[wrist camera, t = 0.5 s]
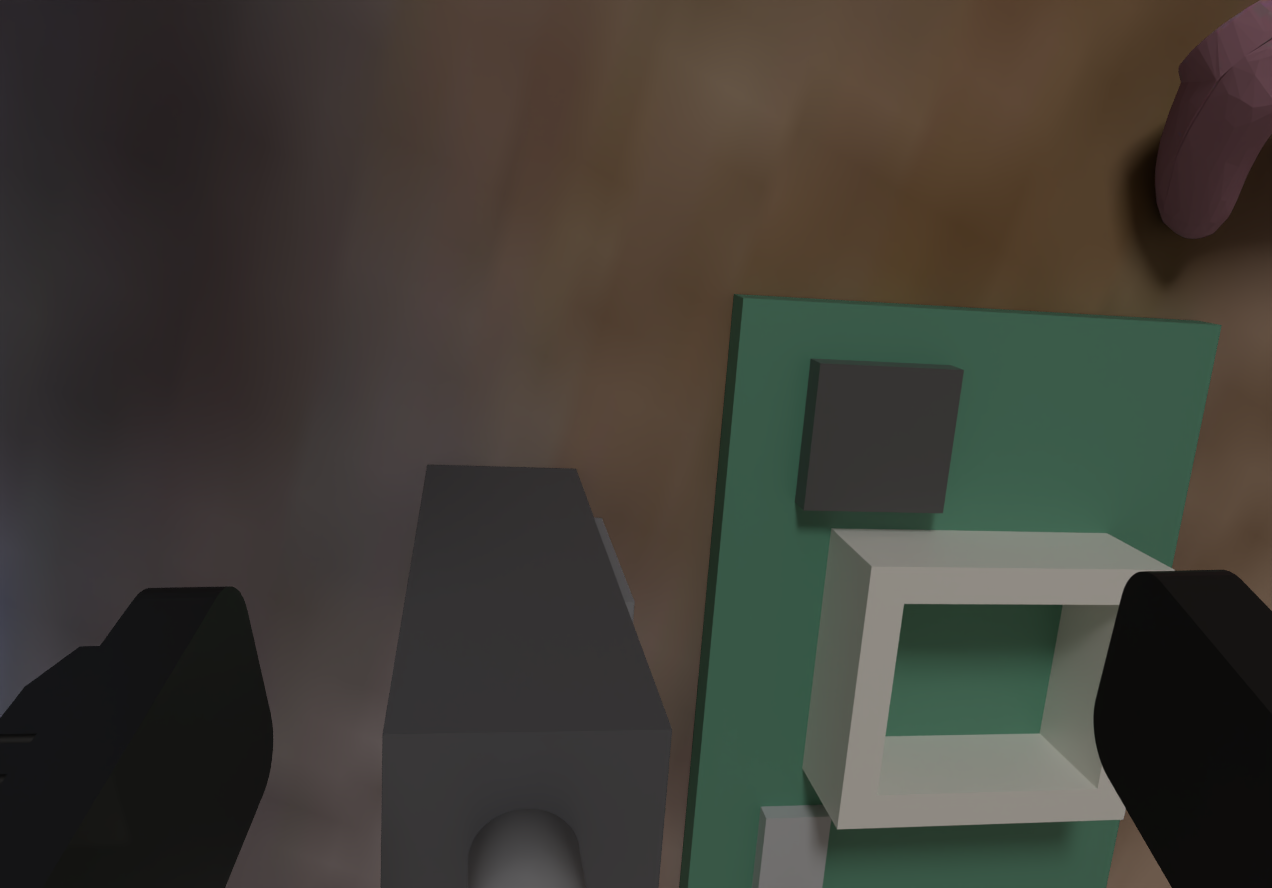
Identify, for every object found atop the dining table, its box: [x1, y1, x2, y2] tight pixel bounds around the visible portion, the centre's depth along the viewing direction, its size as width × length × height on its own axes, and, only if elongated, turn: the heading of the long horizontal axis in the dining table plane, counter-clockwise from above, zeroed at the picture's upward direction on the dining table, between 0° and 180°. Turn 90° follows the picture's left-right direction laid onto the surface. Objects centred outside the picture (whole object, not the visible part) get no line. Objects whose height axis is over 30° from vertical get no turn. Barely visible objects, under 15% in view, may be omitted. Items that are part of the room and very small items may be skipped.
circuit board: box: [679, 294, 1221, 888], centre depth 29 cm, size 20×14×4 cm
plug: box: [381, 465, 672, 888], centre depth 20 cm, size 4×5×17 cm
